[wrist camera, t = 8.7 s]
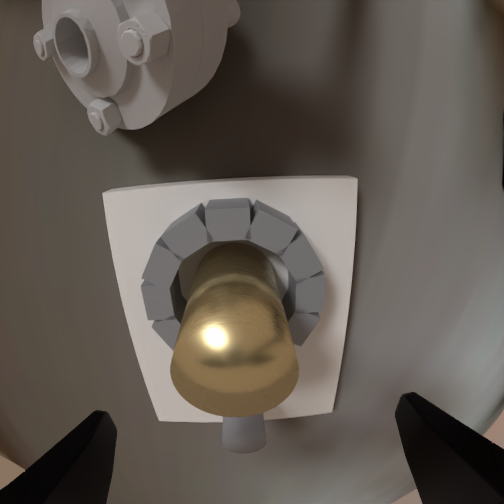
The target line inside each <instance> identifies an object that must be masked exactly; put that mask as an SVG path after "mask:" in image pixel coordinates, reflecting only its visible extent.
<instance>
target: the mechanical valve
mask: <svg viewBox="0 0 504 504" xmlns="http://www.w3.org/2000/svg"><path fill="white" fill-rule="evenodd" d="M240 13H241V12H240V6H239V4H238V2H237V0H42V19H43V25H44V29H43V30H41V31H39V32H37V33H36V34H35V36H34V42H33V43H34V47H35V50H36V52H37V55H38V56H39V57H40V58H41V59H42V60H43V61H45V60H46V59H48V58H50V57H53V60H54V62H55V64H56V66H57V68H58V70H59V72H60V74H61V76H62V77H63V79H64V81H65V82H66V84H67V85H68V87H69V88H70V90H71V91H72V92H73V94H74V95H75V96H76V97H77V99H78V100H79V101H80V102H81V103H82V104H83V105H84V106H85V107H86V108H87V109H88V110H87V114H88V118H89V120H90V122H91V124H92V126H93V127H94V128H95V129H96V131H97V132H99V133H100V134H102V135H104V136H107V135H109V134H110V133H112V132H113V131H114V130H116V129H117V128H121V129H129V130H135V129H140V128H143V127H145V126H147V125H149V124H151V123H152V122H154V121H155V120H157V119H158V118H159V117H161V116H162V115H164V114H165V113H167V112H168V111H170V110H171V109H173V108H174V107H176V106H178V105H179V104H181V103H182V102H184V101H186V100H187V99H189V98H190V97H192V96H194V95H195V94H197V93H198V92H199V91H200V90H201V89H203V88H204V87H205V86H206V85H207V84H208V82H209V81H210V80H211V78H212V77H213V76H214V74H215V72H216V70H217V68H218V66H219V64H220V62H221V59H222V56H223V52H224V48H225V45H226V40H227V28H229V27H232V26H234V25H235V24H236V23H237V22H238V20H239V18H240Z"/></svg>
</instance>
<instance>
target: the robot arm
mask: <svg viewBox="0 0 504 504" xmlns="http://www.w3.org/2000/svg"><path fill="white" fill-rule="evenodd" d="M503 187H504V173H503ZM395 418H396V422H397V426H398V430H399V433H400V437H401V441H402V445H403V449H404V453H405V456H406V459H407V462H408V465H409V467H410V470H411V473H412V475H413V478H414V481H415V484H416V487H417V489H418V492H419V495H420V498H421V500H422V503H423V504H504V449H503V448H501V447H499V446H498V445H496V444H495V443H492V442H491V441H490V440H488V439H487V438H485V437H483V436H482V435H480V434H479V433H477V432H475V431H474V430H472V429H471V428H469V427H468V426H466V425H464V424H463V423H461V422H460V421H458V420H457V419H455V418H454V417H452V416H450V415H449V414H447V413H446V412H444V411H443V410H441V409H440V408H438V407H437V406H435V405H434V404H432V403H431V402H429V401H427V400H426V399H424V398H423V397H421V396H420V395H418V394H417V393H415V392H410V393H406V394H403V395H402V396H401V397H400V400H399V403H398V405H397V408H396V411H395ZM116 438H117V429H116V426H115V424H114V422H113V420H112V418H111V416H110V414H109V413H108V412H106V411H100V410H96V411H94V412H93V413H92V414H90V415H89V416H88V417H87V418H86V419H85V420H83V421H82V422H81V423H80V424H79V425H78V426H77V427H75V428H74V429H73V430H72V431H71V432H70V433H69V434H67V435H66V436H65V437H64V438H63V439H62V440H60V441H59V442H58V443H57V444H56V445H55V446H53V447H52V448H51V449H50V450H49V451H48V452H46V453H45V454H44V455H43V456H42V457H41V458H39V459H38V460H37V461H36V462H35V463H34V464H32V465H31V466H30V467H29V468H28V469H26V470H25V472H23V473H22V474H20V475H19V476H18V477H17V478H16V479H14V481H12V482H11V483H9V484H8V485H7V486H5V487H4V488H2V489H1V490H0V504H106V502H107V497H108V492H109V487H110V483H111V478H112V473H113V465H114V455H115V446H116Z"/></svg>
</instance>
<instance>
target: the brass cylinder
mask: <svg viewBox="0 0 504 504" xmlns="http://www.w3.org/2000/svg"><path fill="white" fill-rule="evenodd" d="M170 375H171V379H172V382H173V385H174V387H175V388H176V390H177V391H178V393H179V394H180V395H181V396H182V397H183V398H184V399H185V400H186V401H187V402H188V403H190V404H191V405H193V406H194V407H196V408H198V409H200V410H202V411H204V412H207V413H210V414H213V415H217V416H223V417H248V416H253V415H257V414H261V413H264V412H266V411H269V410H271V409H273V408H275V407H276V406H278V405H279V404H281V403H282V402H283V401H284V400H285V399H286V398H287V397H288V396H289V395H290V394H291V393H292V391H293V390H294V388H295V386H296V384H297V381H298V377H299V364H298V360H297V356H296V352H295V349H294V345H293V341H292V337H291V333H290V330H289V326H288V322H287V318H286V315H285V311H284V307H283V304H282V300H281V296H280V293H279V289H278V285H277V281H276V278H275V274H274V271H273V268H272V265H271V263H270V261H269V260H268V258H267V257H266V256H265V255H264V254H263V253H262V252H261V251H259V250H258V249H256V248H255V247H252V246H250V245H247V244H243V243H226V244H222V245H220V246H217V247H215V248H213V249H212V250H210V251H209V252H208V253H207V254H206V255H204V257H203V258H202V259H201V261H200V263H199V264H198V267H197V270H196V273H195V277H194V280H193V283H192V287H191V290H190V294H189V297H188V301H187V304H186V308H185V311H184V315H183V319H182V322H181V326H180V329H179V333H178V337H177V341H176V344H175V348H174V352H173V356H172V360H171V365H170Z"/></svg>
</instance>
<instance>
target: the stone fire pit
mask: <svg viewBox="0 0 504 504" xmlns="http://www.w3.org/2000/svg"><path fill="white" fill-rule="evenodd" d="M357 182H358V179H357V178H354V177H351V176H348V175H311V176H267V177H244V178H225V179H209V180H196V181H183V182H171V183H161V184H151V185H141V186H132V187H124V188H115V189H111V190H109V191H106V192H104V193H103V201H104V208H105V215H106V222H107V228H108V234H109V240H110V246H111V251H112V257H113V262H114V267H115V272H116V276H117V281H118V286H119V290H120V294H121V299H122V303H123V307H124V311H125V315H126V319H127V323H128V326H129V330H130V334H131V337H132V341H133V344H134V348H135V351H136V355H137V358H138V361H139V364H140V368H141V371H142V374H143V377H144V380H145V383H146V386H147V389H148V392H149V395H150V397H151V400H152V403H153V406H154V409H155V411H156V414H157V417H158V419H159V421H174V422H223V427H222V444H223V446H224V447H225V448H226V449H227V450H229V451H232V452H235V453H252V452H256V451H258V450H260V449H262V448H263V447H264V446H265V444H266V435H265V425H264V420H271V419H283V418H293V417H302V416H310V415H317V414H324V413H331V412H332V410H333V405H334V400H335V395H336V390H337V384H338V379H339V373H340V367H341V361H342V354H343V348H344V341H345V334H346V327H347V319H348V311H349V302H350V293H351V283H352V273H353V261H354V248H355V232H356V213H357ZM226 243H243V244H247V245H250V246H252V247H255V248H256V249H258V250H259V251H261V252H262V253H263V254H264V255H265V256H266V257H267V258H268V260H269V261H270V263H271V265H272V268H273V271H274V274H275V278H276V281H277V285H278V289H279V293H280V296H281V300H282V304H283V307H284V311H285V315H286V318H287V322H288V326H289V330H290V333H291V337H292V341H293V345H294V349H295V352H296V356H297V360H298V364H299V377H298V381H297V384H296V386H295V388H294V390H293V391H292V393H291V394H290V395H289V396H288V397H287V398H286V399H285V400H284V401H283V402H282V403H281V404H279V405H278V406H276V407H275V408H273V409H271V410H269V411H266V412H264V413H261V414H257V415H253V416H248V417H223V416H217V415H213V414H210V413H207V412H204V411H202V410H200V409H198V408H196V407H194V406H193V405H191V404H190V403H188V402H187V401H186V400H185V399H184V398H183V397H182V396H181V395H180V394H179V393H178V391H177V390H176V388H175V387H174V385H173V382H172V379H171V375H170V365H171V360H172V356H173V352H174V348H175V344H176V341H177V337H178V333H179V329H180V326H181V322H182V319H183V315H184V311H185V308H186V304H187V301H188V297H189V294H190V290H191V287H192V283H193V280H194V277H195V273H196V270H197V267H198V264H199V263H200V261H201V259H202V258H203V257H204V255H206V254H207V253H208V252H209V251H210V250H212V249H213V248H215V247H217V246H220V245H222V244H226Z"/></svg>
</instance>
